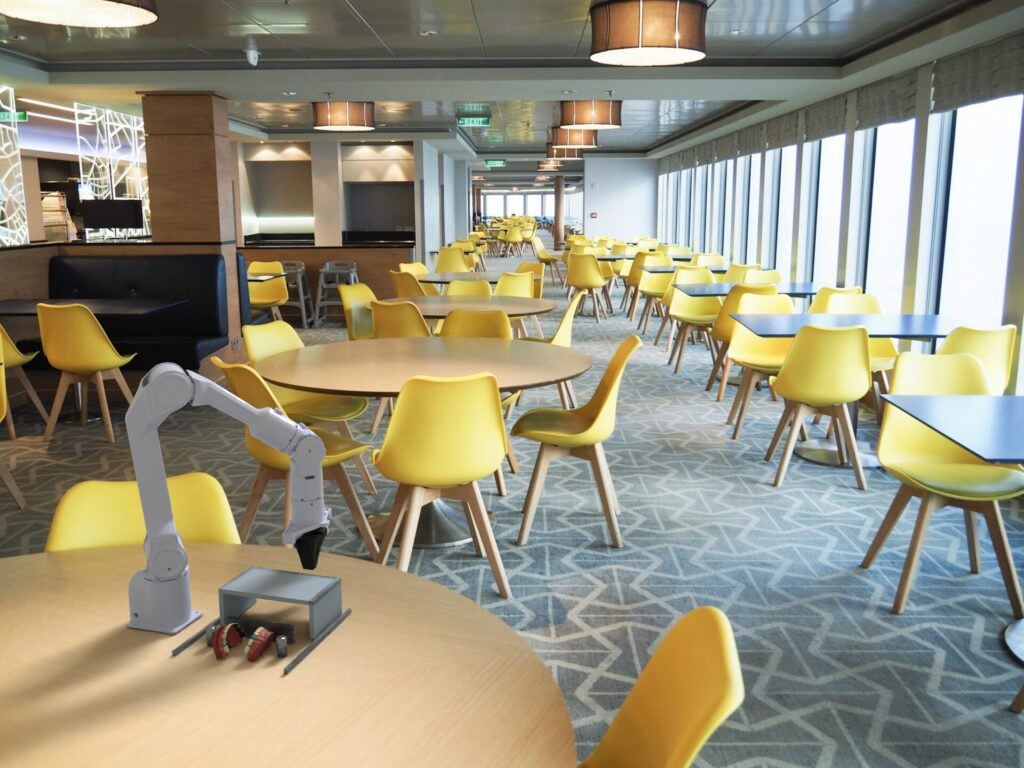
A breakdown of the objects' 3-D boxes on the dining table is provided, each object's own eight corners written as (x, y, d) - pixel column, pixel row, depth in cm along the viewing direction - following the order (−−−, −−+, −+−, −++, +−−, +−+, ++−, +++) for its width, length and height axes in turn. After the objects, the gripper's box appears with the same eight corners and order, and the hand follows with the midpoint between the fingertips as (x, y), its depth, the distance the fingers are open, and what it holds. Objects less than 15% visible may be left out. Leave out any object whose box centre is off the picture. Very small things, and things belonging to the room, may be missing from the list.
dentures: (261, 636, 134) (207, 631, 136) (262, 665, 135) (208, 660, 136) (278, 619, 140) (226, 615, 142) (279, 647, 141) (227, 643, 142)
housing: (220, 625, 147) (218, 588, 146) (252, 601, 157) (251, 566, 155) (314, 639, 143) (313, 601, 141) (342, 613, 152) (341, 577, 151)
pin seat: (172, 655, 137) (171, 638, 136) (249, 598, 158) (248, 583, 157) (287, 674, 132) (286, 656, 131) (351, 613, 153) (351, 597, 152)
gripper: (307, 511, 148) (310, 586, 150) (345, 486, 161) (347, 556, 164) (270, 507, 150) (273, 581, 152) (311, 483, 163) (313, 552, 166)
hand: (309, 568), depth 158 cm, fingers closed
